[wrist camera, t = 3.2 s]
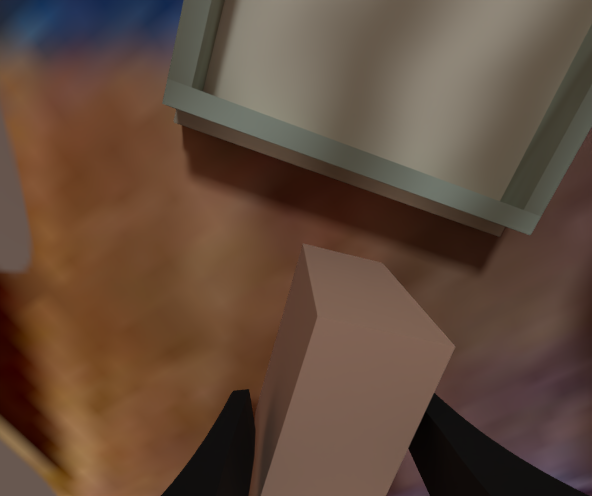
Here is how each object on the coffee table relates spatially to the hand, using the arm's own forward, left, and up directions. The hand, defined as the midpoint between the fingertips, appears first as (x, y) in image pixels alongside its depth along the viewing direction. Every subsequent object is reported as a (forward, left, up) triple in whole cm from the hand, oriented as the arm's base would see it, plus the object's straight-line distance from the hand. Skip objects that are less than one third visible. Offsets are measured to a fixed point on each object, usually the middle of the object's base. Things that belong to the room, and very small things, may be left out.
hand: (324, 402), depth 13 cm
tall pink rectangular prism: (0, 0, -4) cm, 4 cm away
